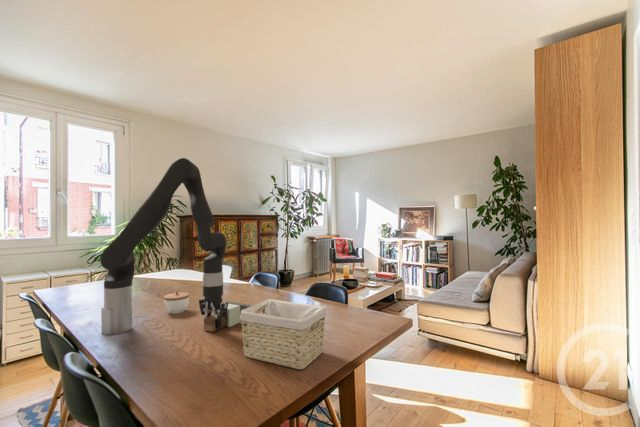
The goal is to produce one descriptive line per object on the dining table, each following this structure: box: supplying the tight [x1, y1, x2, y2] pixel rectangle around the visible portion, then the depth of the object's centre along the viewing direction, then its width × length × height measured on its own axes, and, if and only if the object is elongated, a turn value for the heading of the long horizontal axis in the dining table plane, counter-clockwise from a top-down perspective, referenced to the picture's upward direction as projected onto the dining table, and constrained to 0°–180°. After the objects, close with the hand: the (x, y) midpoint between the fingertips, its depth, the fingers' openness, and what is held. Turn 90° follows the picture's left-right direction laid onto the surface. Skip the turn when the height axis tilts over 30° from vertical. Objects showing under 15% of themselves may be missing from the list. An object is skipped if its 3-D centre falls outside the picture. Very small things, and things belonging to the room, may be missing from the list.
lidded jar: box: [163, 291, 190, 315], centre depth 142 cm, size 11×11×9 cm
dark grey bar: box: [224, 301, 254, 315], centre depth 133 cm, size 5×16×6 cm, turn 63°
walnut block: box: [203, 312, 228, 332], centre depth 121 cm, size 12×4×4 cm, turn 152°
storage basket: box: [240, 298, 328, 370], centre depth 97 cm, size 24×16×15 cm
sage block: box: [216, 304, 241, 328], centre depth 125 cm, size 6×8×7 cm
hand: (213, 327), depth 118 cm, fingers closed on walnut block, 4 cm apart
